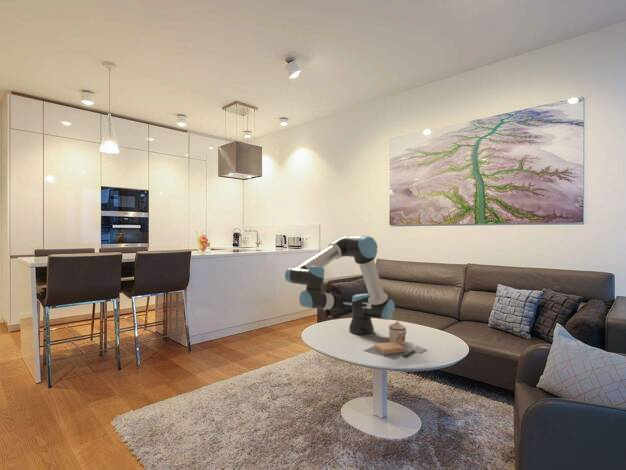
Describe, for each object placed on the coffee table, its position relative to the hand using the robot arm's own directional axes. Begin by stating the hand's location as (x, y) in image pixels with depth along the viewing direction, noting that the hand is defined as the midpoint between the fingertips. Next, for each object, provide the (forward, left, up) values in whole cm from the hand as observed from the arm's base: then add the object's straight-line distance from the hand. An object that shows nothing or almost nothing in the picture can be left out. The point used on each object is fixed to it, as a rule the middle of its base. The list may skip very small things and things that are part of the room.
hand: (370, 305), depth 177 cm
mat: (+6, +7, -24) cm, 26 cm away
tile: (+3, +3, -22) cm, 23 cm away
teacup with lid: (+3, +26, -24) cm, 36 cm away
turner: (+17, +16, -24) cm, 33 cm away
